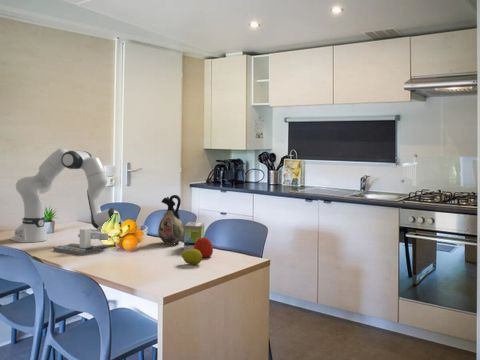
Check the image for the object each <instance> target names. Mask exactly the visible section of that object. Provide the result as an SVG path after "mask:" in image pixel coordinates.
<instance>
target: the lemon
mask: <svg viewBox="0 0 480 360" xmlns="http://www.w3.org/2000/svg"><path fill="white" fill-rule="evenodd" d="M180 256H181V258H182V259H183V261H184V262H185V263H186V264H188V265H189V266H196V265H199V264H200V263H201V262H202V260H203V257H202V254H201V252H200V251H199V250H197V249H188V250H186V251H184V250H183V251H182V252H181V254H180Z"/></svg>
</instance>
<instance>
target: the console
mask: <svg viewBox="0 0 480 360" xmlns="http://www.w3.org/2000/svg"><path fill="white" fill-rule="evenodd" d="M78 247H80V243H70V242H69V244H64V245H58V246H54V247H53V249H52V250H53V252H57V253H62V254H63V253H64V254H68V255H76V256H80V257H81V256H85V255H89V254H94V253H98V252H101V251H102V247H99V246H96V245H93V246H92V245H91V247H93V248H90V249H80V248H78Z"/></svg>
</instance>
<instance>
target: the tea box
mask: <svg viewBox="0 0 480 360" xmlns="http://www.w3.org/2000/svg"><path fill="white" fill-rule="evenodd" d="M183 237H184V241H183V252H184V251H186V250H188V249H194V245H195V243H196V241H197V240H198V239H199V238H205V222H195V221H194V222H191V221H188V222H187V223H186V224H185V225H184V234H183Z"/></svg>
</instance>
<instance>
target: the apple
mask: <svg viewBox="0 0 480 360" xmlns="http://www.w3.org/2000/svg"><path fill="white" fill-rule="evenodd" d="M194 249H197V250H199V251H200V252H201V254H202V258H210V257H211V256H212V255H213V252H214V248H213V243H212V241H211V240H210V239H209V238H208V237H204V238H199V239H198V240H197V241H196V243H195V245H194Z"/></svg>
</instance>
